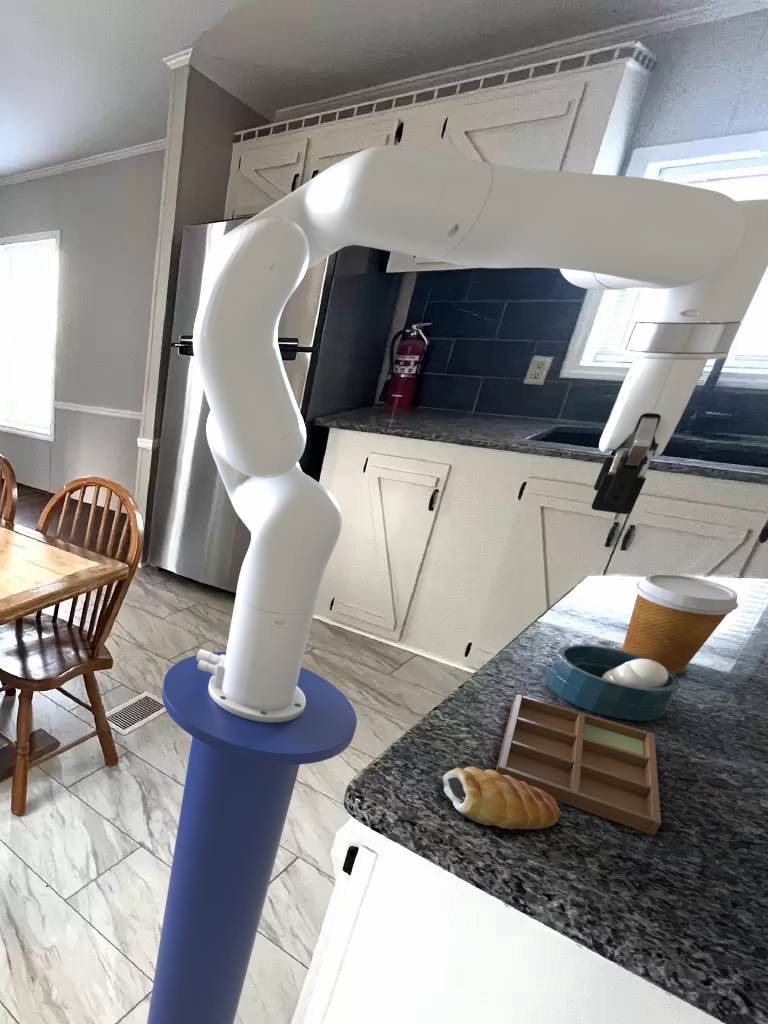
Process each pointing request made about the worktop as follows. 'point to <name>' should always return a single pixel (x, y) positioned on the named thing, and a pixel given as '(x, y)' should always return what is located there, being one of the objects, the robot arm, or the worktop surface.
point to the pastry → (499, 799)
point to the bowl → (606, 684)
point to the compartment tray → (583, 762)
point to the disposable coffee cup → (675, 618)
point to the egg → (639, 674)
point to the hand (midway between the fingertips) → (610, 501)
